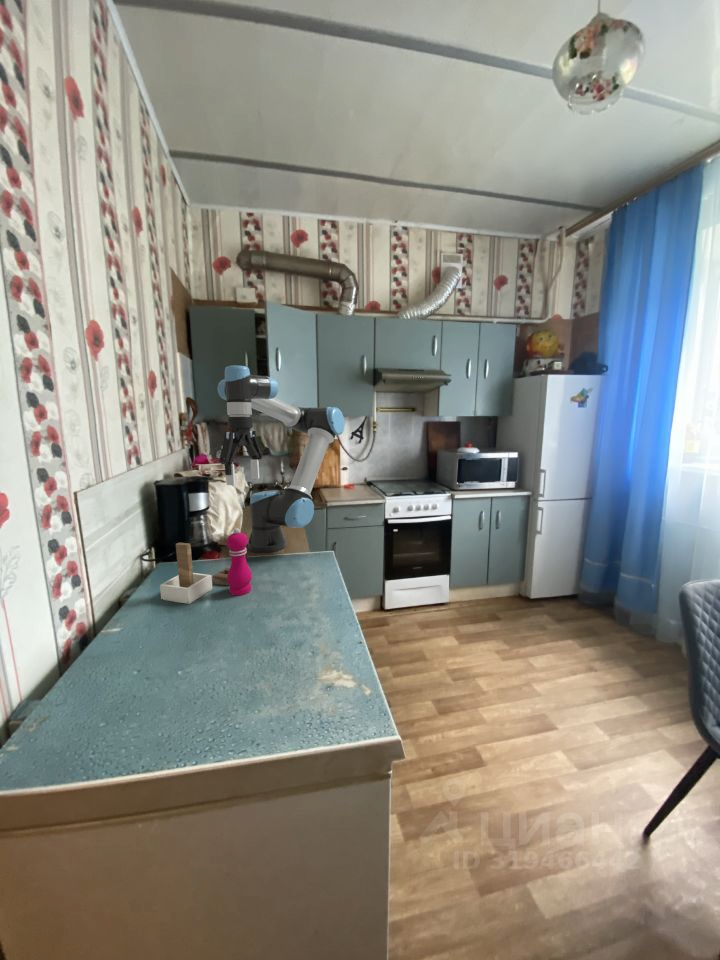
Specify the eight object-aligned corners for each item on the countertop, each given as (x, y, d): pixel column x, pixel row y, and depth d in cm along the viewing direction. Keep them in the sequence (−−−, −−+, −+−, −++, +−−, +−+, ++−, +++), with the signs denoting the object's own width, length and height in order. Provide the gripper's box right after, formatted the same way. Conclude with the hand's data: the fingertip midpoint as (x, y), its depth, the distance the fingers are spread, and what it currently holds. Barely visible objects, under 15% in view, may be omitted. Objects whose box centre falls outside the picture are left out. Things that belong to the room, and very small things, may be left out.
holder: (227, 574, 126) (226, 567, 126) (244, 576, 124) (244, 569, 124) (213, 583, 120) (212, 575, 119) (231, 585, 118) (231, 578, 117)
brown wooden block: (183, 589, 114) (179, 542, 111) (194, 591, 113) (190, 543, 110) (180, 591, 112) (175, 544, 110) (191, 593, 111) (186, 545, 109)
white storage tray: (186, 584, 119) (185, 571, 118) (212, 588, 116) (211, 575, 115) (161, 599, 109) (159, 584, 109) (189, 604, 106) (187, 589, 106)
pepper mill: (256, 586, 117) (252, 524, 114) (247, 597, 110) (243, 532, 107) (234, 585, 118) (230, 524, 115) (223, 596, 111) (219, 531, 108)
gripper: (251, 416, 132) (255, 475, 135) (203, 416, 108) (208, 487, 112) (270, 416, 130) (273, 476, 133) (224, 416, 106) (229, 488, 110)
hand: (243, 481), depth 123 cm, fingers open, 13 cm apart
